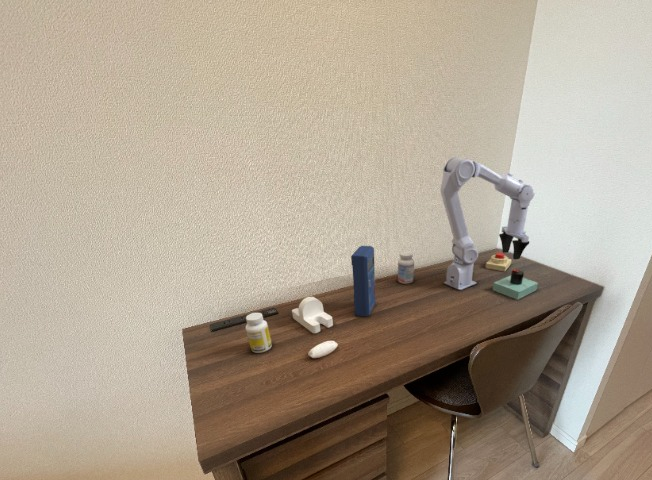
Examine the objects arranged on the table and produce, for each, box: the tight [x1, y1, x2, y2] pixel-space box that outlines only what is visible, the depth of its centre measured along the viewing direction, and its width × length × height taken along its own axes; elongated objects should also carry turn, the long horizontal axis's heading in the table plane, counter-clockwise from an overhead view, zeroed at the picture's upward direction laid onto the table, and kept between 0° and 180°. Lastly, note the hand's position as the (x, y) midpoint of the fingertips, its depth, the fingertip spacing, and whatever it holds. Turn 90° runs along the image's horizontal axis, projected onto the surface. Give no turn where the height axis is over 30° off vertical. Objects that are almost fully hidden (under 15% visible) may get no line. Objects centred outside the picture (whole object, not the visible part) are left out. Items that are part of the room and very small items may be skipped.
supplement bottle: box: [245, 312, 273, 354], centre depth 84 cm, size 5×5×10 cm
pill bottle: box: [397, 251, 415, 285], centre depth 121 cm, size 6×6×11 cm
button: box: [494, 252, 506, 259], centre depth 135 cm, size 4×4×2 cm
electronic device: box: [350, 245, 376, 317], centre depth 100 cm, size 10×5×20 cm, turn 168°
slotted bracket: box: [291, 296, 334, 334], centre depth 96 cm, size 13×7×8 cm, turn 42°
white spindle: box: [307, 340, 339, 359], centre depth 83 cm, size 3×8×3 cm, turn 131°
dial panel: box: [492, 275, 539, 301], centre depth 115 cm, size 12×10×3 cm
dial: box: [510, 269, 525, 285], centre depth 113 cm, size 4×4×4 cm
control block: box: [485, 254, 512, 272], centre depth 136 cm, size 10×8×4 cm
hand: (510, 255), depth 120 cm, fingers open, 7 cm apart
